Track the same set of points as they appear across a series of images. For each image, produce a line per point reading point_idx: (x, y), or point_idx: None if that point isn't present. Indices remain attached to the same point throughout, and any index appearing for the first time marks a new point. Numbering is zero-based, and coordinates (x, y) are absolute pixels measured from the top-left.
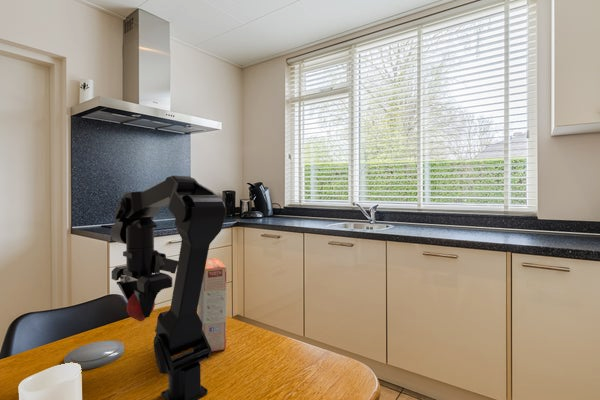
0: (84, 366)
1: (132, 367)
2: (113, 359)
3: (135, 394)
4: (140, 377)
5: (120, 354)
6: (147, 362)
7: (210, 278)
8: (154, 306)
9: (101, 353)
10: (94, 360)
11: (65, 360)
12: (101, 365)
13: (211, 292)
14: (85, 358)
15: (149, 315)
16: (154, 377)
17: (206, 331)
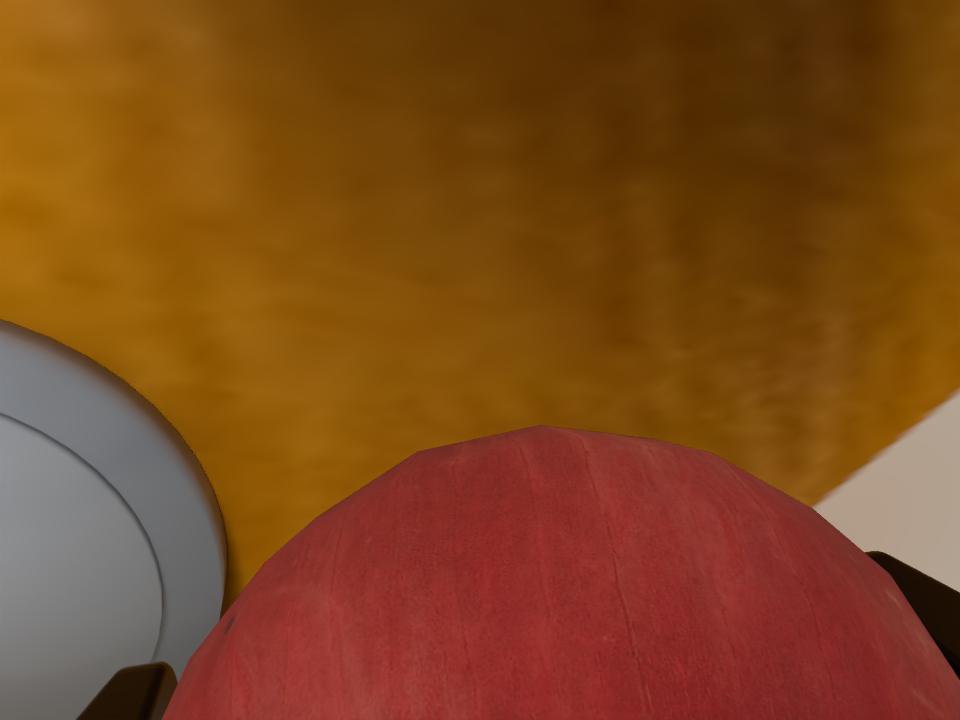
0: None
1: (470, 331)
2: (185, 453)
3: (927, 417)
4: (721, 324)
5: (99, 378)
6: (477, 183)
7: None
8: (722, 465)
9: (53, 568)
10: (164, 617)
11: None
12: (223, 541)
13: None
14: (86, 683)
15: (903, 572)
16: (830, 229)
17: None
